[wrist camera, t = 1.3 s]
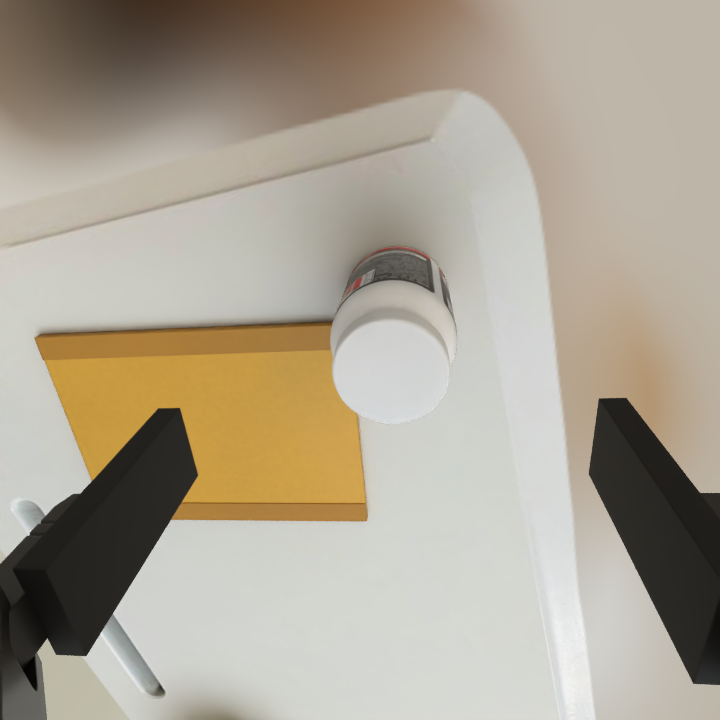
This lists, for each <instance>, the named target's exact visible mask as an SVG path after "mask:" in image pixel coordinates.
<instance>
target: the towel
mask: <svg viewBox="0 0 720 720" xmlns="http://www.w3.org/2000/svg"><path fill="white" fill-rule="evenodd" d="M332 323H333V322H318V323H294V324H271V325H247V326H224V327H201V328H177V329H154V330H131V331H107V332H84V333H61V334H40V335H38V336H37V337H35V341H36V344H37V346H38V349H39V351H40V354H41V356H42V359H43V360H45V363H46V365H47V368H48V371H49V373H50V376H51V378H52V381H53V383H54V386H55V388H56V391H57V393H58V396H59V398H60V401H61V404H62V406H63V409H64V411H65V414H66V416H67V419H68V421H69V424H70V426H71V429H72V432H73V434H74V437H75V439H76V442H77V444H78V447H79V449H80V452H81V454H82V457H83V459H84V462H85V465H86V467H87V470H88V472H89V475H90V477H91V480H92V481H93V479H94V478H95V477H96V476H97V475H98V474H99V473H100V472H101V471H102V470H103V469H104V467H105V466H106V465H107V464H108V463H109V462H110V461H111V460H112V459H113V458H114V456H115V455H116V454H117V453H118V452H119V451H120V450H121V449H122V448H123V447H124V445H125V444H126V443H127V442H128V441H129V440H130V439H131V438H132V437H133V436H134V434H135V433H136V432H137V431H138V430H139V429H140V428H141V427H142V426H143V425H144V423H145V422H146V421H147V420H148V419H149V418H150V417H151V416H152V415H153V414H154V412H155V411H156V410H157V409H158V408H180V409H181V413H182V417H183V420H184V424H185V428H186V432H187V435H188V439H189V443H190V446H191V450H192V454H193V457H194V461H195V465H196V468H197V472H198V477H197V478H196V480H195V482H194V483H193V485H192V487H191V488H190V490H189V491H188V493H187V495H186V496H185V498H184V499H183V501H182V503H181V504H180V506H179V507H178V509H177V511H176V512H175V514H174V516H173V517H172V519H171V520H274V521H367V517H368V515H367V505H366V495H365V485H364V475H363V465H362V455H361V446H360V436H359V426H358V416H357V413H355V412H354V411H353V410H351V409H350V408H349V407H348V406H347V405H346V404H345V403H344V401H343V400H342V399H341V397H340V396H339V394H338V392H337V390H336V388H335V385H334V382H333V377H332V363H333V356H332V351H331V345H330V334H331V328H332Z"/></svg>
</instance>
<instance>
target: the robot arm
mask: <svg viewBox="0 0 720 720" xmlns="http://www.w3.org/2000/svg"><path fill="white" fill-rule="evenodd" d="M589 475H590V477H591V479H592V481H593V483H594V485H595V487H596V489H597V491H598V493H599V495H600V497H601V499H602V501H603V503H604V505H605V507H606V509H607V511H608V513H609V515H610V517H611V519H612V521H613V523H614V525H615V527H616V529H617V531H618V533H619V535H620V537H621V539H622V541H623V543H624V545H625V547H626V549H627V551H628V554H629V555H630V557H631V560H632V562H633V563H634V566H635V568H636V570H637V571H638V574H639V576H640V577H641V579H642V581H643V584H644V586H645V587H646V590H647V592H648V594H649V596H650V598H651V600H652V601H653V604H654V606H655V608H656V610H657V612H658V614H659V616H660V618H661V620H662V622H663V624H664V626H665V628H666V630H667V632H668V634H669V636H670V637H671V640H672V641H673V644H674V646H675V648H676V650H677V652H678V654H679V656H680V658H681V660H682V662H683V664H684V666H685V668H686V670H687V672H688V673H689V676H690V677H691V679H692V682H693V684H711V685H720V493H700V492H699V491H698V490H697V489H696V487H695V486H694V485H693V483H692V482H691V481H690V480H689V478H688V477H687V476H686V474H685V473H684V472H683V470H682V469H681V468H680V467H679V465H678V464H677V463H676V462H675V460H674V459H673V458H672V456H671V455H670V454H669V452H668V451H667V450H666V449H665V447H664V446H663V445H662V444H661V442H660V441H659V440H658V438H657V437H656V436H655V434H654V433H653V432H652V430H651V429H650V428H649V427H648V425H647V424H646V423H645V422H644V420H643V419H642V418H641V416H640V415H639V414H638V412H637V411H636V410H635V409H634V407H633V406H632V405H631V403H630V402H629V401H628V400H627V398H607V399H606V398H605V399H604V398H603V399H599V402H598V409H597V417H596V425H595V432H594V439H593V447H592V454H591V461H590V469H589ZM197 477H198V472H197V468H196V465H195V461H194V457H193V454H192V450H191V446H190V443H189V439H188V435H187V432H186V428H185V424H184V420H183V417H182V413H181V409H180V408H158V409H157V410H156V411H155V412H154V414H153V415H152V416H151V417H150V418H149V419H148V420H147V421H146V422H145V423H144V425H143V426H142V427H141V428H140V429H139V430H138V431H137V432H136V433H135V434H134V436H133V437H132V438H131V439H130V440H129V441H128V442H127V443H126V444H125V445H124V447H123V448H122V449H121V450H120V451H119V452H118V453H117V454H116V455H115V456H114V458H113V459H112V460H111V461H110V462H109V463H108V464H107V465H106V466H105V467H104V469H103V470H102V471H101V472H100V473H99V474H98V475H97V476H96V477H95V478H94V479H93V481H92V482H91V483H90V484H89V485H88V486H87V487H86V488H85V489H84V490H83V492H82V493H81V494H73V495H71V496H70V497H68V498H67V499H65V500H64V501H62V502H61V503H59V504H58V505H56V506H55V507H54V508H53V509H52V510H51V511H50V512H49V513H48V514H47V515H46V516H45V517H44V519H43V520H42V521H41V524H38V525H37V526H36V527H35V528H34V529H33V530H32V531H31V532H30V535H29V536H26V538H25V539H24V540H23V541H22V542H21V543H20V544H19V545H18V546H17V547H16V548H15V549H14V550H13V551H12V552H11V553H10V554H9V555H8V557H7V558H6V559H5V560H4V561H3V562H2V563H1V564H0V720H47V715H46V705H45V694H44V683H43V672H42V662H41V660H40V658H39V656H38V654H37V652H38V650H39V648H40V647H41V646H42V645H43V643H44V642H45V640H46V639H47V638H48V640H49V642H50V644H51V646H52V648H53V649H54V651H55V653H56V655H73V656H87V654H88V653H89V651H90V649H91V648H92V646H93V645H94V643H95V641H96V640H97V638H98V636H99V635H100V633H101V632H102V630H103V628H104V627H105V625H106V624H107V622H108V620H109V619H110V617H111V616H112V614H113V612H114V611H115V609H116V607H117V606H118V604H119V603H120V601H121V599H122V598H123V596H124V595H125V593H126V591H127V590H128V588H129V586H130V585H131V583H132V582H133V580H134V578H135V577H136V575H137V574H138V572H139V570H140V569H141V567H142V566H143V564H144V562H145V561H146V559H147V557H148V556H149V554H150V553H151V551H152V549H153V548H154V546H155V545H156V543H157V541H158V540H159V538H160V537H161V535H162V533H163V532H164V530H165V528H166V527H167V525H168V524H169V522H170V520H171V519H172V517H173V516H174V514H175V512H176V511H177V509H178V507H179V506H180V504H181V503H182V501H183V499H184V498H185V496H186V495H187V493H188V491H189V490H190V488H191V487H192V485H193V483H194V482H195V480H196V478H197Z"/></svg>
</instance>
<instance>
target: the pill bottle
mask: <svg viewBox="0 0 720 720" xmlns="http://www.w3.org/2000/svg"><path fill="white" fill-rule="evenodd" d="M330 345H331V351H332V356H333V363H332V377H333V382H334V385H335V388H336V390H337V392H338V394H339V396H340V397H341V399H342V400H343V401H344V403H345V404H346V405H347V406H348V407H349V408H350V409H351V410H353V411H354V412H355V413H357V414H358V415H360V416H362V417H364V418H366V419H368V420H371V421H374V422H378V423H383V424H401V423H407V422H411V421H414V420H416V419H419V418H421V417H423V416H424V415H426V414H427V413H429V412H430V411H432V409H434V408H435V407H436V406H437V405H438V403H439V402H440V401H441V399H442V398H443V396H444V394H445V392H446V390H447V387H448V384H449V379H450V368H451V366H452V364H453V361H454V358H455V354H456V349H457V330H456V324H455V319H454V315H453V310H452V305H451V300H450V295H449V290H448V285H447V281H446V279H445V276H444V275H443V273H442V271H441V269H440V268H439V266H438V265H437V264H436V263H435V262H434V261H433V260H432V259H431V258H430V257H428V256H427V255H426V254H424V253H422V252H420V251H418V250H416V249H413V248H409V247H402V246H392V247H386V248H382V249H379V250H377V251H375V252H373V253H371V254H369V255H368V256H366V257H365V258H364V259H363V260H362V261H361V262H360V263H359V264H358V265H357V266H356V268H355V269H354V270H353V272H352V274H351V276H350V278H349V280H348V283H347V286H346V289H345V291H344V294H343V296H342V299H341V302H340V304H339V307H338V310H337V312H336V315H335V317H334V320H333V323H332V328H331V334H330Z"/></svg>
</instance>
